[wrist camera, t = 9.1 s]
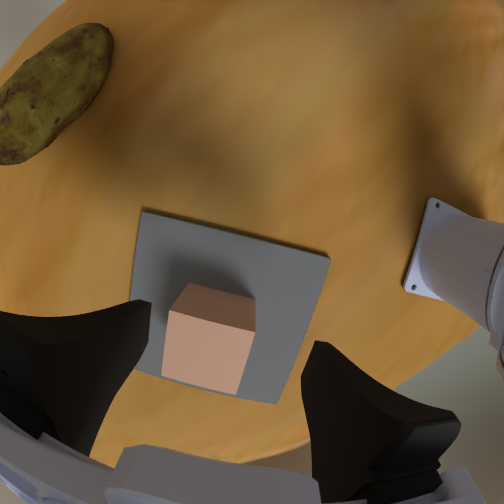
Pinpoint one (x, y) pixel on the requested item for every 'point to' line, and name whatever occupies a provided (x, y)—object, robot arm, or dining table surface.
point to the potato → (52, 90)
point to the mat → (232, 281)
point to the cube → (209, 338)
